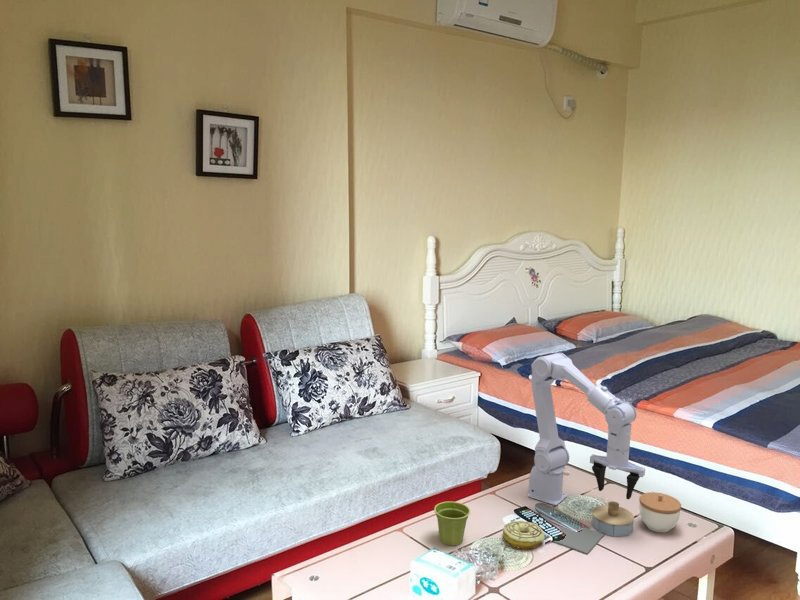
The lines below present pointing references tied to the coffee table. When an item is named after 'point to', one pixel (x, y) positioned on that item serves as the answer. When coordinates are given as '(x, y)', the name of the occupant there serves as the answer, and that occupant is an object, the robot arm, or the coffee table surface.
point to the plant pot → (451, 521)
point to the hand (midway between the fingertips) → (614, 493)
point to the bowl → (612, 528)
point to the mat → (580, 539)
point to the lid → (613, 514)
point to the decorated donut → (523, 534)
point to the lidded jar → (659, 511)
